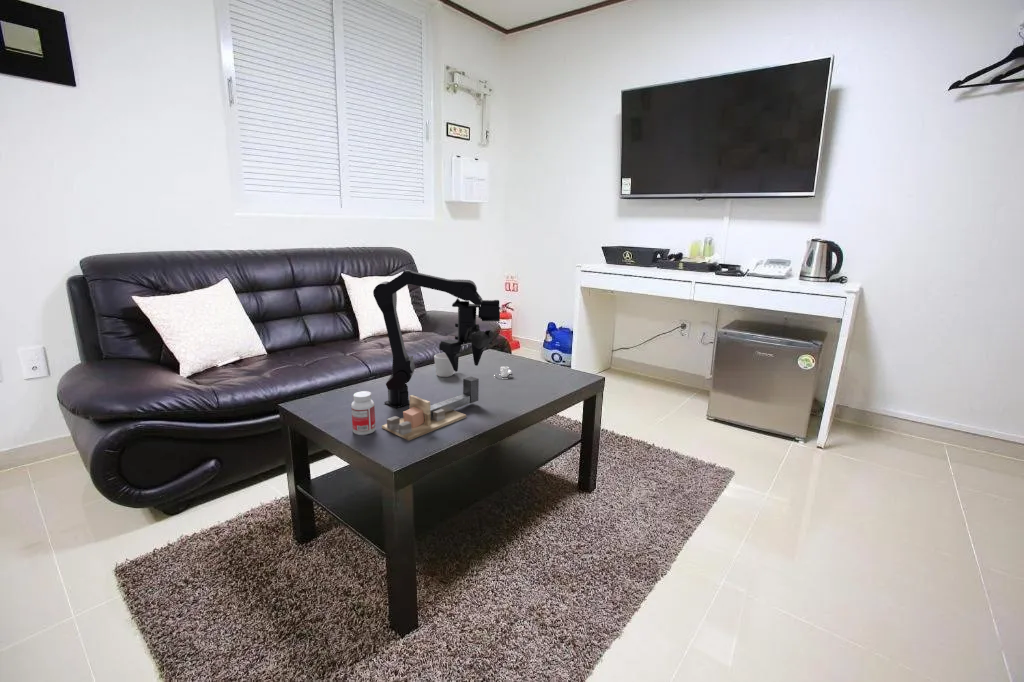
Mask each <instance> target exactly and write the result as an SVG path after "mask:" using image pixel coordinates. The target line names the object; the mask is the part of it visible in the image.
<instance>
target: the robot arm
mask: <svg viewBox="0 0 1024 682" xmlns="http://www.w3.org/2000/svg"><path fill="white" fill-rule="evenodd" d="M407 285H413V286H417V287H421V288H425V289H431V290H434V291H440V292H444V293H447V294H449V295H451V296H453V297H455V298H456V300H454V302H453V303H452V304H451V306H452V307H453V308H457V323H455V324H454V327H456V328H457V335H455V336H454V340H453V339H449V338H448V339H446V340H441V341H440V342H439V345H438V349H439V351H441V353H445V354H446V355H447V357H448V359H449V361H450V363H451V365H452V367H453V369H454V372H458V371H459V357H460V355H461V354H462V352H461V349H462V347H465V346H469V345H470V346H471V351H472V358H473V364H474V366H477V367H479V363H480V361H481V358H482V355H483V352H484V351H485V350H486V349H487V348H489V347H490V345H492V344H493V341H494V340H493V338H494V332H493V330H491V329H487V330H485V331H484V330H480V324H478V323H477V318H478V319H480V320H481V322H495V323H499V322H500V321H501V320H500V317H501V311H500V300H499V299H493V300H492V299H491V300H489V299H485V300H484V299H483V298H482V296H481V295H480V294H479V292H478V289H477V288H478V287H477V285H476V283H475V282H474V281H472V280H470V279H448V278H443V277H438V276H435V275H431V274H426V273H421V272H417V271H413V270H411V269H407V270H404V271H403V272H401V274H400V275H397V276H396V277H395V278H393V279H392V280H390V281H383V282H380V283H379V284H377V285H376V286H375V287H374V288H373V292H372V293H373V297H374V300H375V302H376V304H377V306H378V308H379V310H380V311H381V313H382V316H383V320H384V324H385V328H386V333H387V337H388V341H389V346H390V349H391V354H392V364H391V365H392V368H391V370H392V374H391V375H390V376H389V378H388V380H387V381H386V383H385V386H386V388H387V396H388V400H385V401H384V404H385V405H387V406H390V407H392V408H395V409H398V408H401V407H404V406H407V405H410V398H409V389H408V388H409V386H408V384H407V383H409V382H410V381H411V379H412V377H413V376H414V375H413V374H415V373H414V372H415V369H416V365H415V363H414V355H410V356H409V355H408V353H407V351H406V347H405V344H404V338H403V335H402V334H403V333H402V330H401V325H400V321H399V320H400V319H399V316H398V311H397V307H398V306H397V305H398V301H397V300H398V299H397V298H398V294H397V293H398V292H399V290H400V291H401V289H403V288H404V287H406V286H407ZM470 302H471V303H470ZM477 309H478V313H477ZM477 314H478V317H477Z"/></svg>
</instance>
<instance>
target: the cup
mask: <svg viewBox="0 0 1024 682" xmlns="http://www.w3.org/2000/svg"><path fill="white" fill-rule="evenodd" d="M433 358H434V360H433V361H434V367H435V373H436V376H438V377H440V378H449V377H451V376H453V374H454V372H455V371H454V369H453V367H452V365H451V363H450V361H449V359H448V357H447V355H446V354H445V352H439V353H436V354H435V355H434V356H433Z"/></svg>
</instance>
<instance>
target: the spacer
mask: <svg viewBox="0 0 1024 682" xmlns="http://www.w3.org/2000/svg"><path fill="white" fill-rule="evenodd" d="M402 414H403V415H402V417H403V418H404V422H406V421H408V422H411V427H412V428H415V427H417V426H419V425H421V424H423V423H424V415H423V410H421V409H418V408H416V407H412V408H410V407H409V409H406V410H404V411H402Z"/></svg>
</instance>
